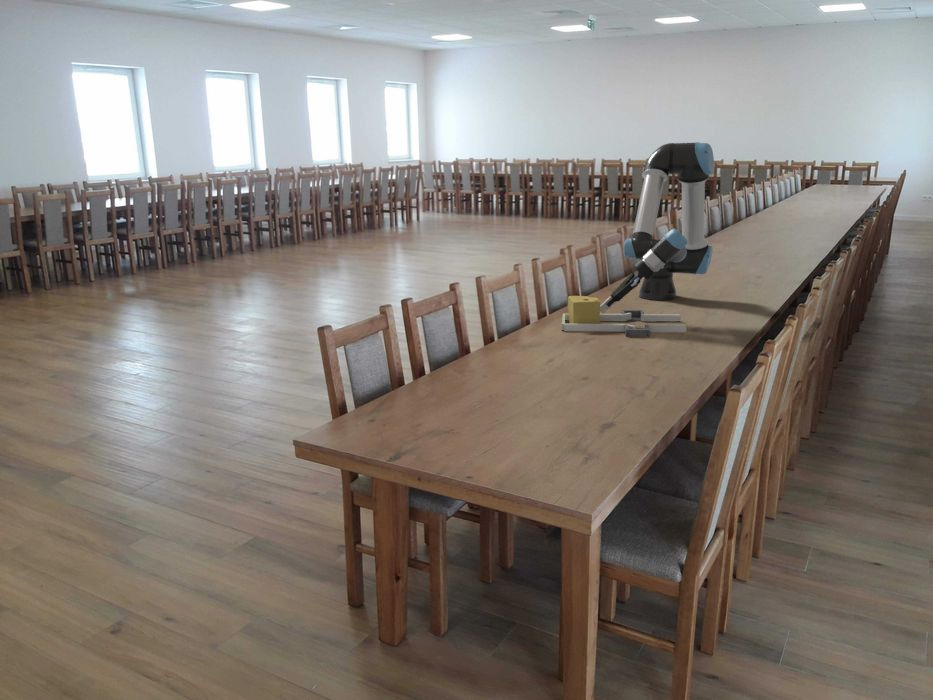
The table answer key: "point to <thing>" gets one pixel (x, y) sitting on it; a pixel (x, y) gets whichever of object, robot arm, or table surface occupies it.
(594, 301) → the cheese
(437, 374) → the table surface
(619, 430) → the table surface
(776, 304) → the table surface
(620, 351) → the table surface
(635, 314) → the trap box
